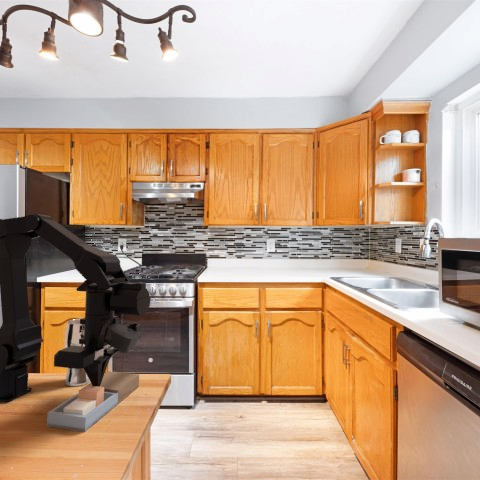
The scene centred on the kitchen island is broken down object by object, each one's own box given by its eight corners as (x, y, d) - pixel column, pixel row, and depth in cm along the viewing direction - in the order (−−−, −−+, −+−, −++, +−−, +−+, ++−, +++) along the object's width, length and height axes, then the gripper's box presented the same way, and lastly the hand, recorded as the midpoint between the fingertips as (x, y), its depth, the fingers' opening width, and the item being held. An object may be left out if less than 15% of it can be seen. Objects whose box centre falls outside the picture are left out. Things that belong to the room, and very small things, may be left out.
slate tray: (46, 426, 57) (47, 412, 57) (84, 400, 68) (84, 388, 68) (85, 431, 56) (85, 417, 56) (117, 404, 66) (118, 392, 66)
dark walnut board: (84, 400, 68) (84, 386, 68) (108, 383, 76) (109, 371, 76) (117, 404, 66) (118, 390, 66) (138, 386, 75) (139, 374, 75)
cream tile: (77, 398, 62) (77, 410, 62) (63, 407, 58) (62, 421, 58) (96, 400, 62) (95, 413, 62) (82, 410, 58) (82, 423, 58)
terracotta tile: (85, 404, 65) (77, 410, 62) (86, 385, 65) (78, 390, 62) (103, 406, 64) (95, 412, 62) (104, 387, 64) (96, 392, 62)
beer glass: (56, 383, 76) (59, 321, 77) (82, 373, 82) (85, 317, 83) (74, 389, 73) (77, 325, 73) (100, 379, 79) (102, 320, 79)
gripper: (107, 325, 55) (104, 413, 55) (154, 307, 74) (152, 373, 73) (53, 321, 57) (49, 406, 57) (112, 304, 76) (109, 369, 75)
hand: (96, 387), depth 65 cm, fingers closed
